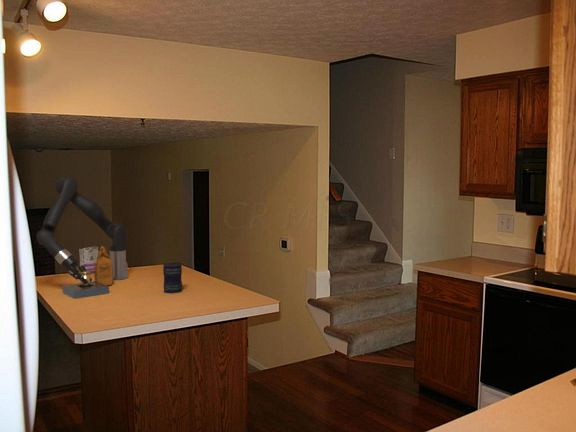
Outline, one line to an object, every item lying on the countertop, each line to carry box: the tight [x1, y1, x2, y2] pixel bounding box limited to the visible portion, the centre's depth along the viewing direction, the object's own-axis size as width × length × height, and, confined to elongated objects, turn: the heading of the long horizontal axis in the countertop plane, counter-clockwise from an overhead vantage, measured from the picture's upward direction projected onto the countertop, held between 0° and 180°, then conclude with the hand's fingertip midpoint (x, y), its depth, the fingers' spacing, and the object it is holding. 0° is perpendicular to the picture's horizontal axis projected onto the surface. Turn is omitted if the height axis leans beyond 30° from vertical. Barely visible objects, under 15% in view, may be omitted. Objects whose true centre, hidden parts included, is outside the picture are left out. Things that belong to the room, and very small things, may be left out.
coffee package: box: [93, 245, 113, 286], centre depth 304 cm, size 10×12×22 cm
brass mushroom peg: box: [79, 271, 92, 288], centre depth 283 cm, size 6×6×10 cm
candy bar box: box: [78, 246, 100, 274], centre depth 341 cm, size 11×5×16 cm, turn 143°
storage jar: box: [162, 262, 183, 294], centre depth 287 cm, size 10×10×15 cm
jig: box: [61, 280, 110, 300], centre depth 283 cm, size 18×18×4 cm
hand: (88, 282), depth 283 cm, fingers closed on brass mushroom peg, 4 cm apart
